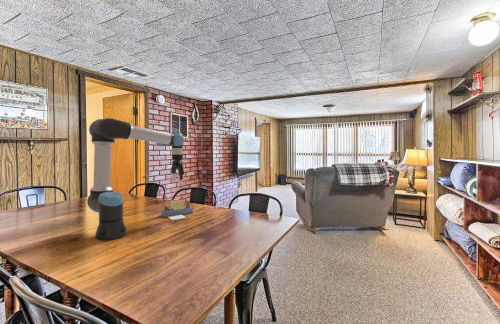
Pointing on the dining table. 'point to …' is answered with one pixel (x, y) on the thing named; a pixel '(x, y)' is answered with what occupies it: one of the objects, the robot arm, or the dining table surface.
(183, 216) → the felt mat
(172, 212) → the plane body
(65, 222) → the dining table surface
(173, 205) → the lever cap
